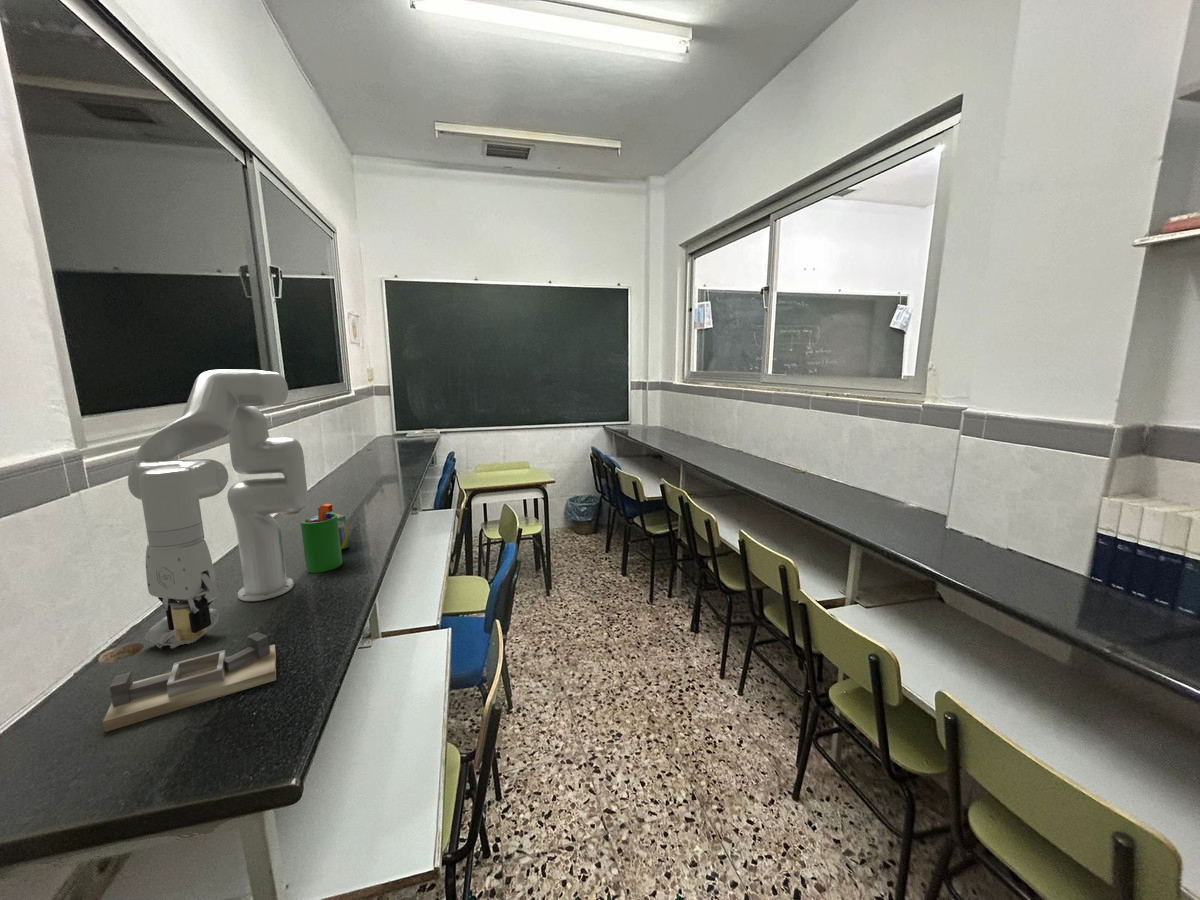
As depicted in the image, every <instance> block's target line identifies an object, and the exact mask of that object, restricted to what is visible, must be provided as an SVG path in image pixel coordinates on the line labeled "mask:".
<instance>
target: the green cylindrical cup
mask: <svg viewBox="0 0 1200 900" xmlns="http://www.w3.org/2000/svg"><path fill="white" fill-rule="evenodd" d="M318 508H319V511H318V513H317V514H318V519H316V520H312V521H309V522H307V523H305V521H302V522H300V527H301V536H302V544H303V545H302V546H303V551H304V552H303V553H304V561H305V568H306V573H309V572H311V574H317V573H318V574H319V573H324V572H329V571H332V570H335V569H337V568H339V567H340V566H342V565H343V557H342V550H341V546H340V537H339V528H338V519H337V514H338V513H336V514H334V513H335V512H333V510H334V509H333V504H331V503H324V504H322V505H320V506H319V507H318ZM326 512H327V513H326ZM331 512H332V513H331Z"/></svg>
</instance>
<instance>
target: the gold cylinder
mask: <svg viewBox="0 0 1200 900" xmlns="http://www.w3.org/2000/svg"><path fill="white" fill-rule="evenodd" d="M200 599H201V596H199V597H197V598H196V600H197V603H198V602H199V601H200ZM170 606H171V613H172V619H173V625H174V632H175V638H176V640H177V641H187V640H191V639H194V638H197V637H199V636H201V635H203V634H204V633H205V632H206V628H204V629H203V630H201V631H199V632H197V633H192V631H191V625H190V619H189V613H191V612H192V611H191V608H190V605H189V602H188V600H178V599H175V600H173V601H172V602H171V603H170ZM206 633H207V632H206ZM206 633H205V634H206ZM205 634H204V635H205ZM204 635H203V636H204ZM201 637H202V636H201Z"/></svg>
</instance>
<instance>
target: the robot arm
mask: <svg viewBox="0 0 1200 900" xmlns="http://www.w3.org/2000/svg"><path fill="white" fill-rule="evenodd" d="M288 396H289V387H288V383H287V381H286V379H285V378H284V376H283V375H282V374H280V373H278V372H276V371H268V370H267V371H266V370H259V369H211V370H207V371H206V370H205V371H203V372H201V373H200V374H199V375H198V376H197V377H196V379H195V381H194V383H193V386H192V389H191V390H190V394H189V396H188V399H187V402H186V404H185V406H184V407H185V408H184V410H183V412H182V416H181V417H180V418H178V419H176V420H174V421H172V422H170V423H169V424H167V425H165V426H164V427H162V428H161V429H159V430H157V431H156V432H155V433H153V434H152V435H150V436H149V437H148V438H147V439H146V440H144V441H143V442H142V444H140V446H139V448H138V450H137V452H136V453H135V456H134V458H133V460H132V462H131V466H130V469H129V472H128V475H127V486H128V487H127V488H128V489H129V492H130V494H131V496H133V497H135V498H136V499H138V500H140V501H141V504H142V509H143V517H144V521H145V527H146V528H145V529H146V535H147V541H148V544H147V545H146V549H145V577H146V585H147V586H146V587H147V590H148V591H147V592H148V593H149V595H150V596H152V597H156V598H157V599H158V600H159V601H160V602H161V603H162V609H163V610H164V611H165V613H166V616H167V622H168V628H169V630H174V625H173V619H172V613H171V606H170V603H171V602H172V601H173V600H175V599H178V600H188V602H189V605H190V608H191V611H192V612H191V613H189V619H190V625H191V631H192V633H197V632H199V631H201V630H203V629H204V628H206V627H208V626H210V625H211V619H210V617H211V616H210V615H211V614H210V612H209V609H210V607H211V605H212V602H213V601H214V600H215V599H216V598H218V597H219V596H220V595H221V591H220V590H218V587H217V586H216V575H215V570H214V565H213V561H212V560H213V559H212V557H211V552H210V550H209V549H210V548H209V547H208V543H207V541H206V539H205V531H204V525H203V519H202V512H201V511H202V510H201V505H200V500H202V499H206V498H210V497H215V496H217V495H219V494H220V493H222V491H223V490H224V489H225V488H226V486H227V484H228V482H229V473H228V470H227V468H226V467H225V464H223V463H222V462H220V461H218V460H215V459H209V458H208V459H206V458H203V459H199V458H197V459H175V460H174V458H175V457H177V456H179V455H181V454H184V453H185V452H188V451H192V450H194V449H198V448H200V447H203V446H207V445H209V444H211V443H214V442H217V441H220V440H223V439H224V438H226V437H228V444H229V454H230V460H231V465H232V468H233V470H234V471H235V472H236V473H237V474H241V475H265V474H267V475H268V474H281V475H283V477H274V478H273V477H271V478H270V477H269V478H254V479H253V478H252V479H246V480H245V479H244V480H241V481H237V482H236V483H233V484H232V485H231V486H230V488H229V489H228V490H227V496H226V497H227V498H226V499H227V503H228V506H229V509H230V511H231V514H232V517H233V520H234V524H235V529H236V534H237V535H236V536H237V542H238V551H239V556H240V557H239V559H240V565H241V572H242V578H243V579H242V580H243V586H242V588H240V589H239V590H238V592H237V597H238V599H239V600H241V601H243V602H259V601H265V600H270V599H273V598H276V597H279V596H281V595H284V594H285V593H288V592H289V591H291V590H292V589H293V587H294V580H293V579H292V578H291V577H287V571H286V563H285V556H284V555H285V553H284V546H283V537H282V529H281V526H280V524H279V522H278V520H276V519H275V518H274V517H273V516H272V515H271V514H283V513H292V512H298V511H302V510H304V508H305V507H307V506H306V505H307V502H308V485H307V478H306V477H307V474H306V464H305V463H306V462H305V456H304V455H305V454H304V451H303V447H302V445H301V443H300V441H298V440H297V439H295V438H293V437H270V434H269V433H270V432H269V425H268V419H267V417H266V416H265V414H263V412H262V411H261V410H260V409H259V408H258V407H277V406H281V405H283V404H285V402H286V400H287V398H288ZM199 596H201V599H200V601H199V602H198V603H197V600H196V598H197V597H199Z"/></svg>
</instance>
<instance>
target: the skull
mask: <svg viewBox="0 0 1200 900" xmlns="http://www.w3.org/2000/svg"><path fill="white" fill-rule="evenodd" d="M209 612H210V619H211V625H210V626H208V627H206V632H205V633H204V634H203V635H201V636H199V637H197V638H194V639H191V640H187V641H177V640H176V638H175V632H174V630H169V628H168V622H167V615H166V616H165V617H163V618H162V619H161V620H160V621H158V622H156V624H155V625H153V626H152V627H150V628H149V629H148V631H147V632H146V634H145V635H144V640H145V641H147V642H152V643H153V644H154V645H155V646H156V647H157V648H159V649H161V648H160V647H163V648H164V647H165V646H169V648H170V649H175V648H177V647H178V646H180V645H181V646H182V645H184V644H188V645H191V644H190V643H192V644H193V642H194V643H195V642H197V641H198V640H199V639H201V637H203V636H204V635H205V634H206V633H207V632H208V631H209V630H211V629H212V628H213V627H215V625H216V624H217V623H218V622H219V619H220V614H219V611H218V609H216V608H209ZM184 646H185V645H184Z"/></svg>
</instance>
